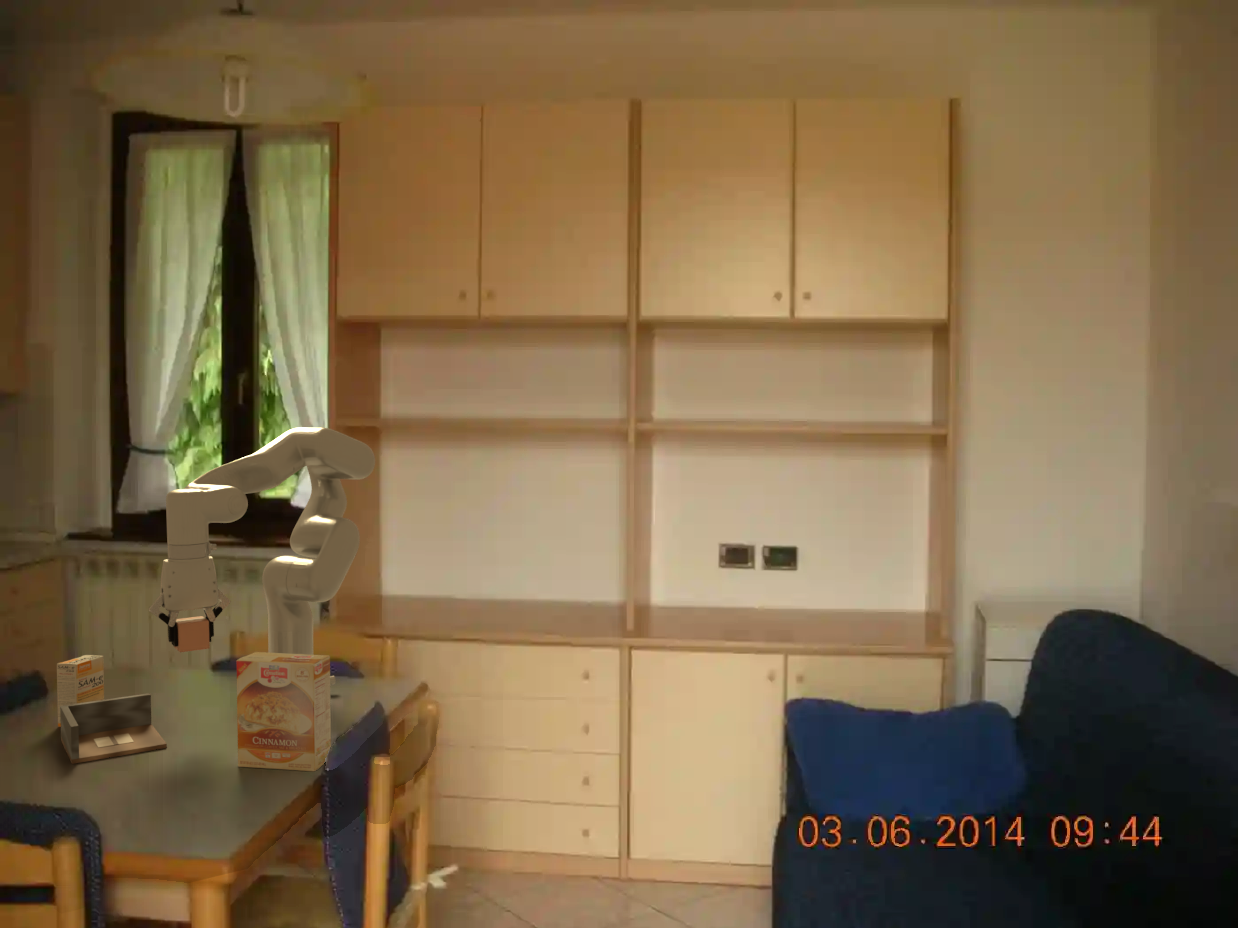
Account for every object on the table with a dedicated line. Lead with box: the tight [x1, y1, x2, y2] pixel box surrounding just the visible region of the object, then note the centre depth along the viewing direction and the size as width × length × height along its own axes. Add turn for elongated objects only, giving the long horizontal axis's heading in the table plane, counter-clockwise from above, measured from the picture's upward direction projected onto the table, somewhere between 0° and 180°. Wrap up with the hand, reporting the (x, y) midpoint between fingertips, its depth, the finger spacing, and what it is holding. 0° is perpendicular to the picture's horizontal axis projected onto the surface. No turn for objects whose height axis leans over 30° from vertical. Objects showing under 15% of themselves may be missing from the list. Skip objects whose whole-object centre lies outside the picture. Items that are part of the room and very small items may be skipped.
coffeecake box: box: [235, 651, 332, 772], centre depth 188 cm, size 15×7×20 cm, turn 80°
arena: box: [60, 693, 168, 765], centre depth 199 cm, size 16×16×7 cm
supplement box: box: [56, 654, 105, 728], centre depth 213 cm, size 8×5×13 cm, turn 168°
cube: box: [174, 615, 211, 653], centre depth 205 cm, size 6×6×6 cm
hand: (191, 641), depth 205 cm, fingers closed on cube, 5 cm apart
